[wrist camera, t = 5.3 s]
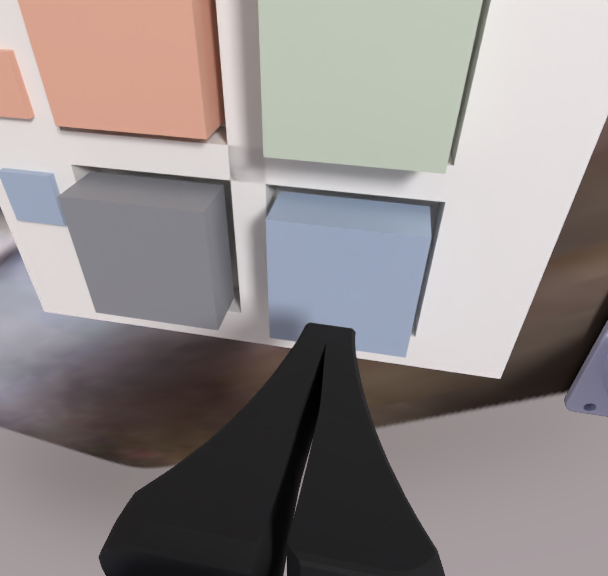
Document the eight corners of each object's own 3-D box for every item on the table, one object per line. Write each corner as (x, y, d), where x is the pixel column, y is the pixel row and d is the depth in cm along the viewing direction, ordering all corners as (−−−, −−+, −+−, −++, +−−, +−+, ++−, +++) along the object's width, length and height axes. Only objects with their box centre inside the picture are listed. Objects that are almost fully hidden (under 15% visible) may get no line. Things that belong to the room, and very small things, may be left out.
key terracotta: (212, -69, 13) (184, -69, 11) (227, 118, 16) (206, 139, 14) (44, -74, 13) (-5, -74, 12) (89, 107, 16) (55, 126, 15)
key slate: (429, 206, 15) (431, 238, 14) (406, 321, 18) (405, 357, 17) (280, 191, 16) (265, 219, 14) (281, 304, 19) (269, 337, 18)
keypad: (671, -165, 11) (738, -188, 9) (491, 335, 21) (501, 384, 19) (-76, -164, 14) (-173, -181, 11) (76, 278, 23) (40, 315, 21)
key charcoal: (223, 185, 16) (203, 212, 15) (234, 297, 19) (218, 330, 18) (90, 171, 17) (57, 196, 15) (120, 282, 20) (96, 312, 18)
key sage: (484, -61, 11) (495, -59, 10) (441, 146, 14) (445, 174, 13) (276, -67, 12) (255, -66, 10) (279, 132, 15) (263, 156, 13)
